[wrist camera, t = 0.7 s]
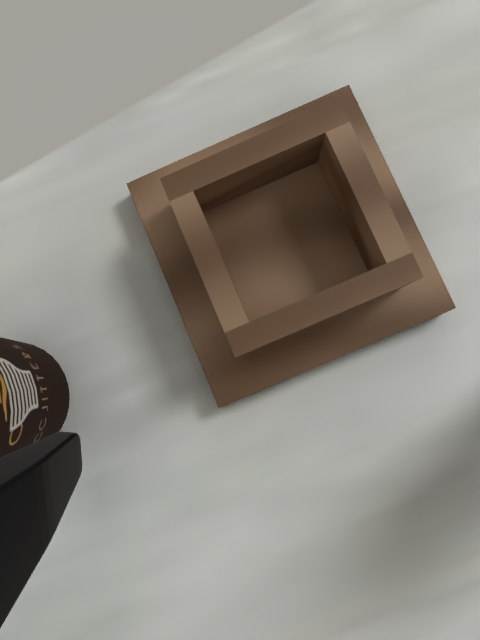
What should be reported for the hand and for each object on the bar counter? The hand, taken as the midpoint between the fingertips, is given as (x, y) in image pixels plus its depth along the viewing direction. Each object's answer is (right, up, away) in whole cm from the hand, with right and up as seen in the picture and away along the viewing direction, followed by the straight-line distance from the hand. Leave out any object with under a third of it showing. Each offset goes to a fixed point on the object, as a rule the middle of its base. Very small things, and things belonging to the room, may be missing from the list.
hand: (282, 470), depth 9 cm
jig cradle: (+2, +7, +14) cm, 16 cm away
